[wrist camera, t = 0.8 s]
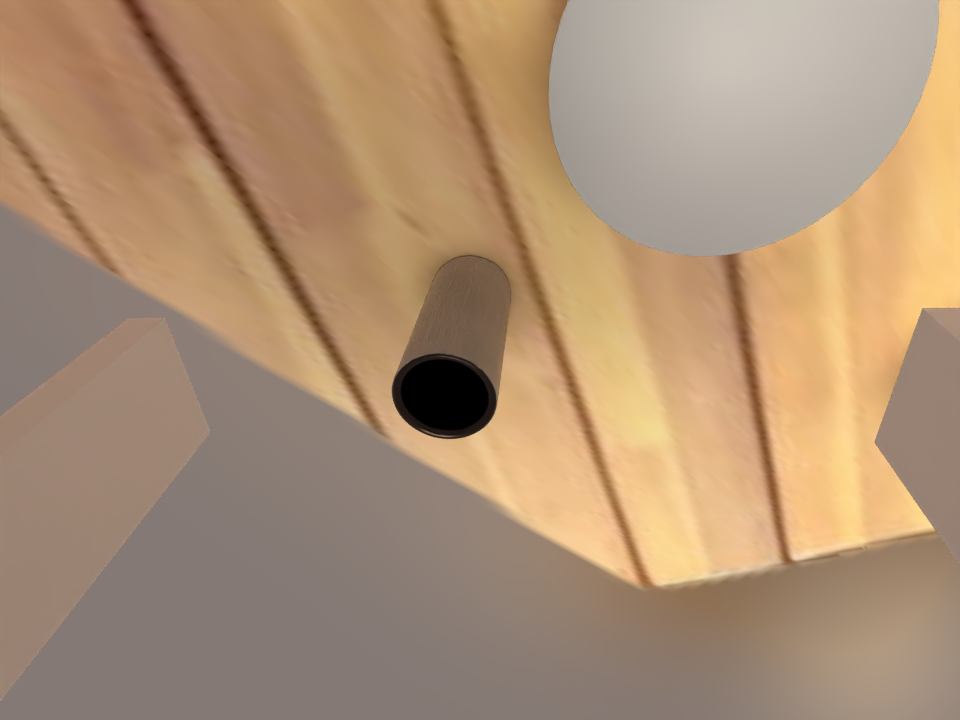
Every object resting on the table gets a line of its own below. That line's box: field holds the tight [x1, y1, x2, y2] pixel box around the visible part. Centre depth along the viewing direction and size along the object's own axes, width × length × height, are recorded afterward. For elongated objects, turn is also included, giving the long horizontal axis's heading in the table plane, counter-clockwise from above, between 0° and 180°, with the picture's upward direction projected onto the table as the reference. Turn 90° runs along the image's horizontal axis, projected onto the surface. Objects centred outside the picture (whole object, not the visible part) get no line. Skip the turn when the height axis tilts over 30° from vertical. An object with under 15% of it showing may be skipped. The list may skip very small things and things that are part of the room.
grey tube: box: [392, 256, 511, 439], centre depth 29 cm, size 4×4×10 cm
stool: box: [549, 0, 939, 256], centre depth 22 cm, size 11×11×10 cm
